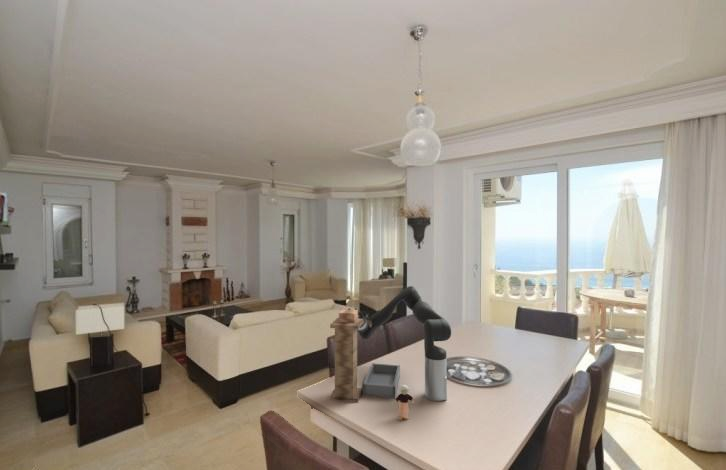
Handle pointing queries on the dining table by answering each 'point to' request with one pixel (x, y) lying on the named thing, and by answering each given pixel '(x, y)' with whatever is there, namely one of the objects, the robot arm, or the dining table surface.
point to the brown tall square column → (346, 361)
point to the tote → (382, 381)
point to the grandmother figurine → (403, 402)
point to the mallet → (348, 315)
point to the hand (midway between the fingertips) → (352, 310)
